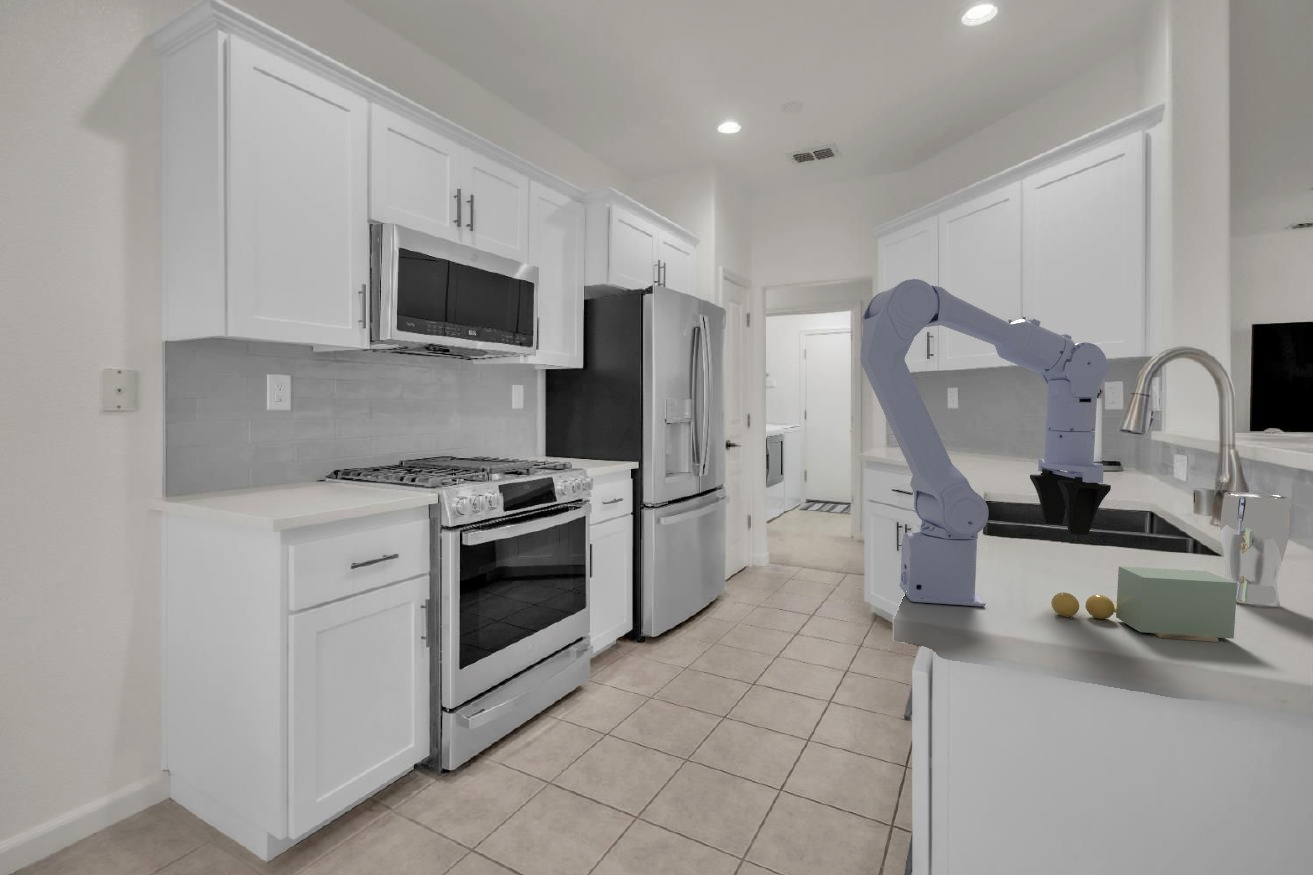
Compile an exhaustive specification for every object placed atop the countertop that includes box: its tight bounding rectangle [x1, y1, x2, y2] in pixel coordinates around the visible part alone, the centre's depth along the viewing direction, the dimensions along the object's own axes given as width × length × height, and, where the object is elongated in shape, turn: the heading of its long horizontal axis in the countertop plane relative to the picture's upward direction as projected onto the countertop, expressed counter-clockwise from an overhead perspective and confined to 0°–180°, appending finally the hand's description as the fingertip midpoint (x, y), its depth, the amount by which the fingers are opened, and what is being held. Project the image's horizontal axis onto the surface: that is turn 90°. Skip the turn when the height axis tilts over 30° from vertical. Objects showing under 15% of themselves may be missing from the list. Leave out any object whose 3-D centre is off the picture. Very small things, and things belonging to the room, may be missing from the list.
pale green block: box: [1115, 566, 1237, 640], centre depth 75 cm, size 10×5×6 cm, turn 80°
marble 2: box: [1085, 594, 1115, 620], centre depth 79 cm, size 3×3×3 cm
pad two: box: [1151, 633, 1219, 643], centre depth 75 cm, size 6×6×1 cm
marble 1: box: [1051, 591, 1080, 618], centre depth 80 cm, size 3×3×3 cm
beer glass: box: [1219, 491, 1291, 609], centre depth 87 cm, size 7×7×15 cm
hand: (1065, 528), depth 87 cm, fingers open, 7 cm apart
